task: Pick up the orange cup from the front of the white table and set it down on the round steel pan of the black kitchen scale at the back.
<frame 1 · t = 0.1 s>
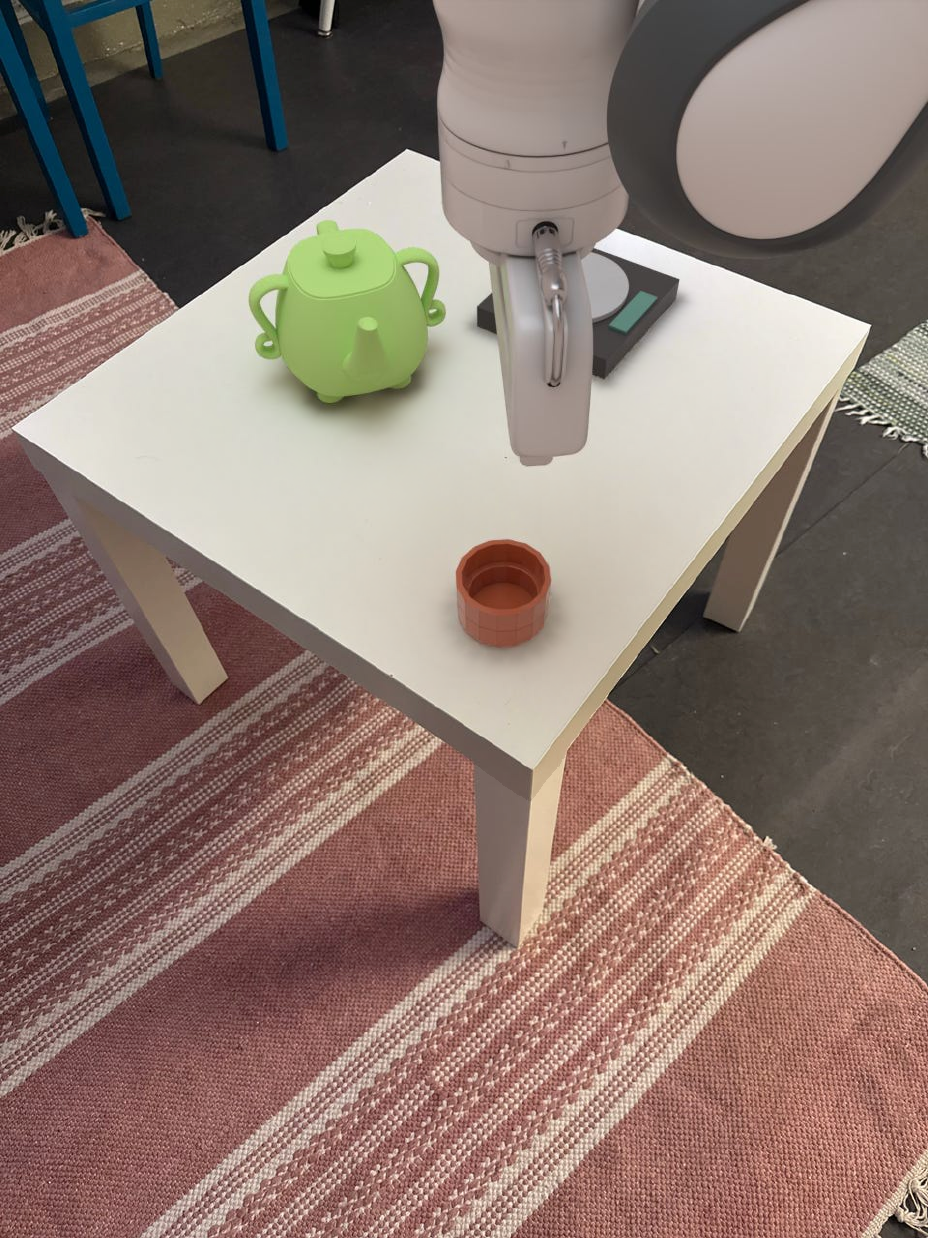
hand: (526, 398, 54), 19 cm above the table, tool pointing down, fingers open, 8 cm apart
scale: (577, 312, 89), on the table
teapot: (360, 374, 85), on the table
orange cup: (502, 613, 69), on the table
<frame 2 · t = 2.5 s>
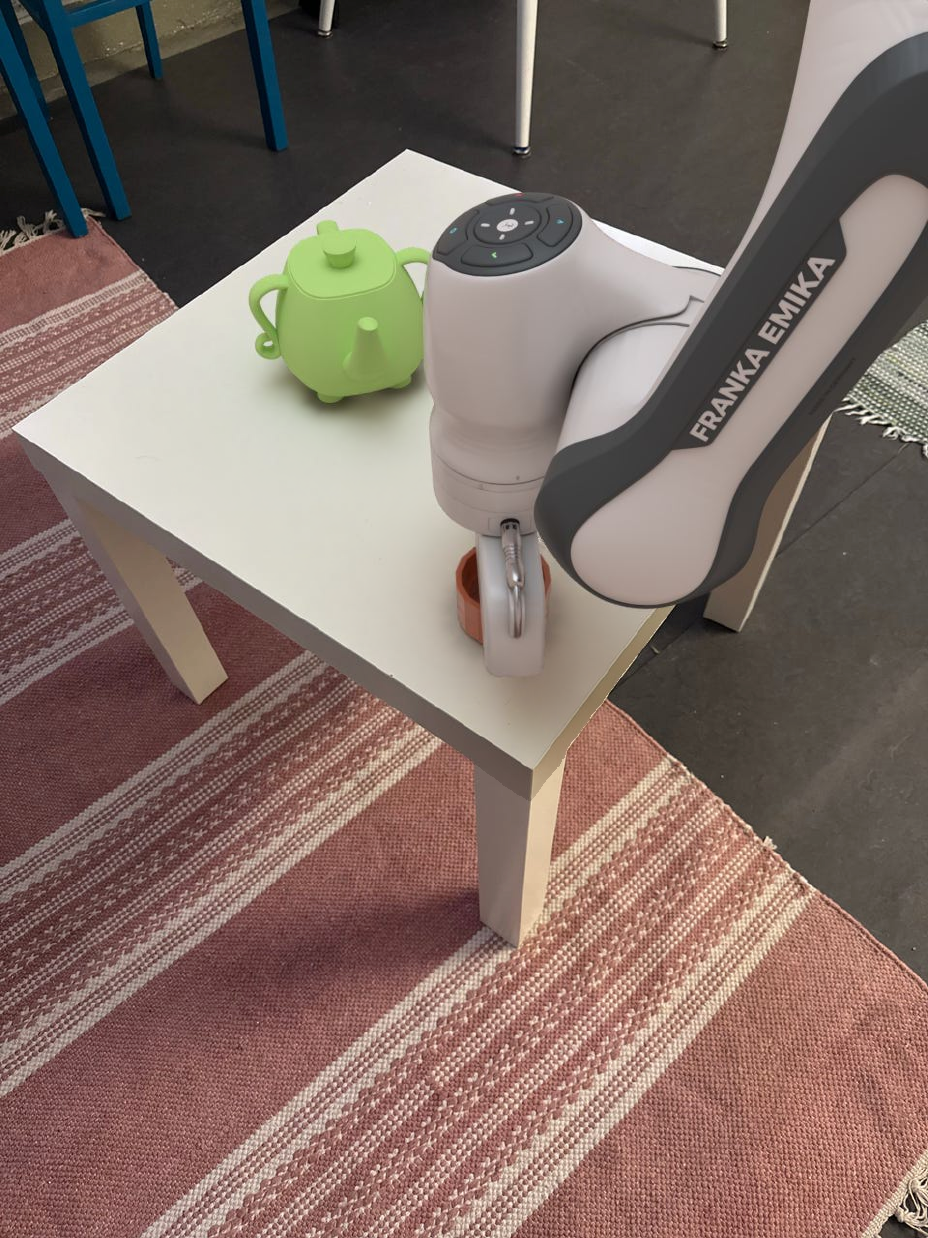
hand: (502, 598, 67), 2 cm above the table, tool pointing down, fingers closed on orange cup, 7 cm apart
orange cup: (502, 613, 69), on the table, touching gripper
everything else where it was.
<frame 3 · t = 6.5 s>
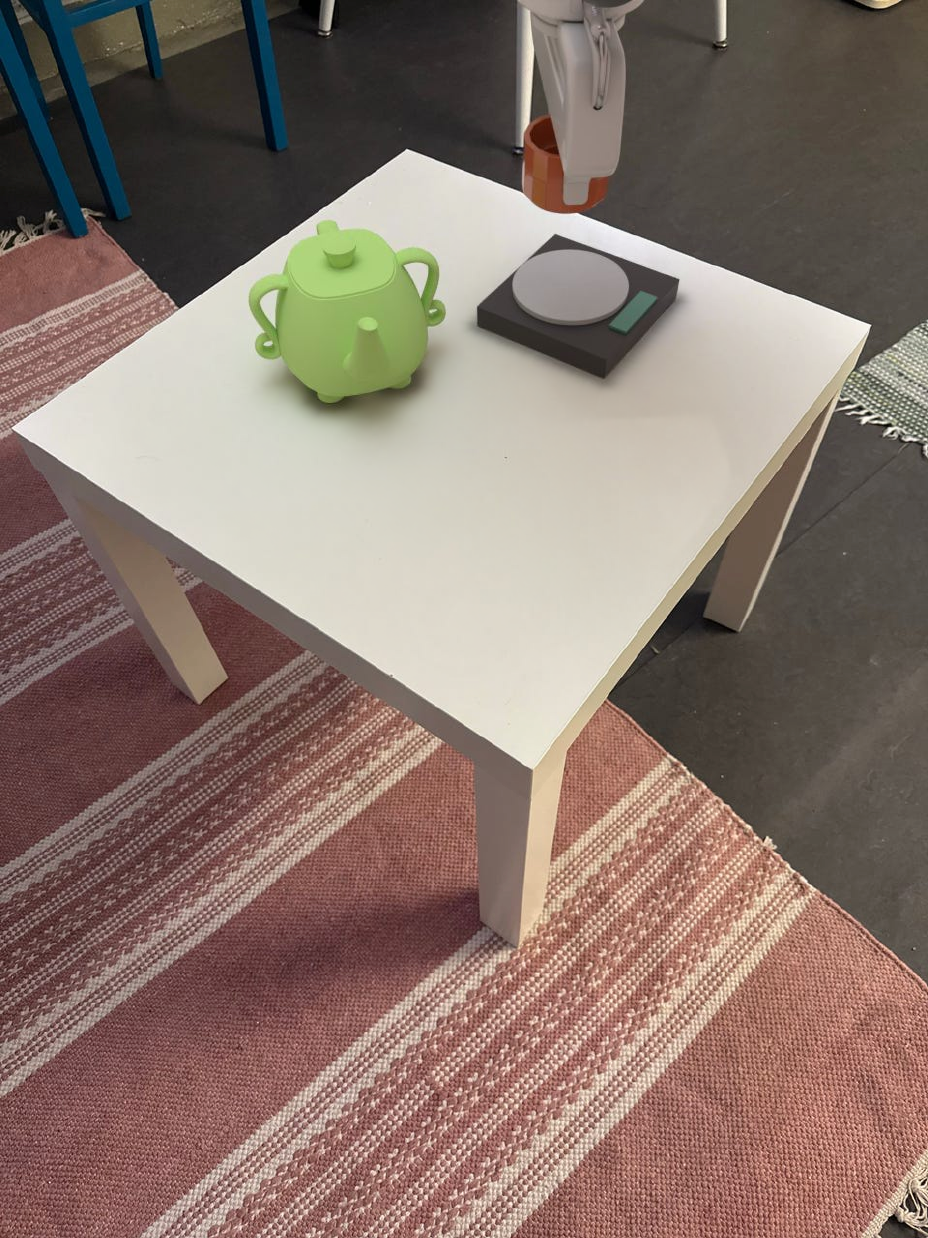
hand: (566, 169, 71), 18 cm above the table, tool pointing down, fingers closed on orange cup, 7 cm apart
orange cup: (564, 192, 72), point 16 cm above the table, touching gripper
everything else where it was.
when the fingers open (4 cm above the table, at t = 10.6 s): orange cup stays where it is, resting on scale.
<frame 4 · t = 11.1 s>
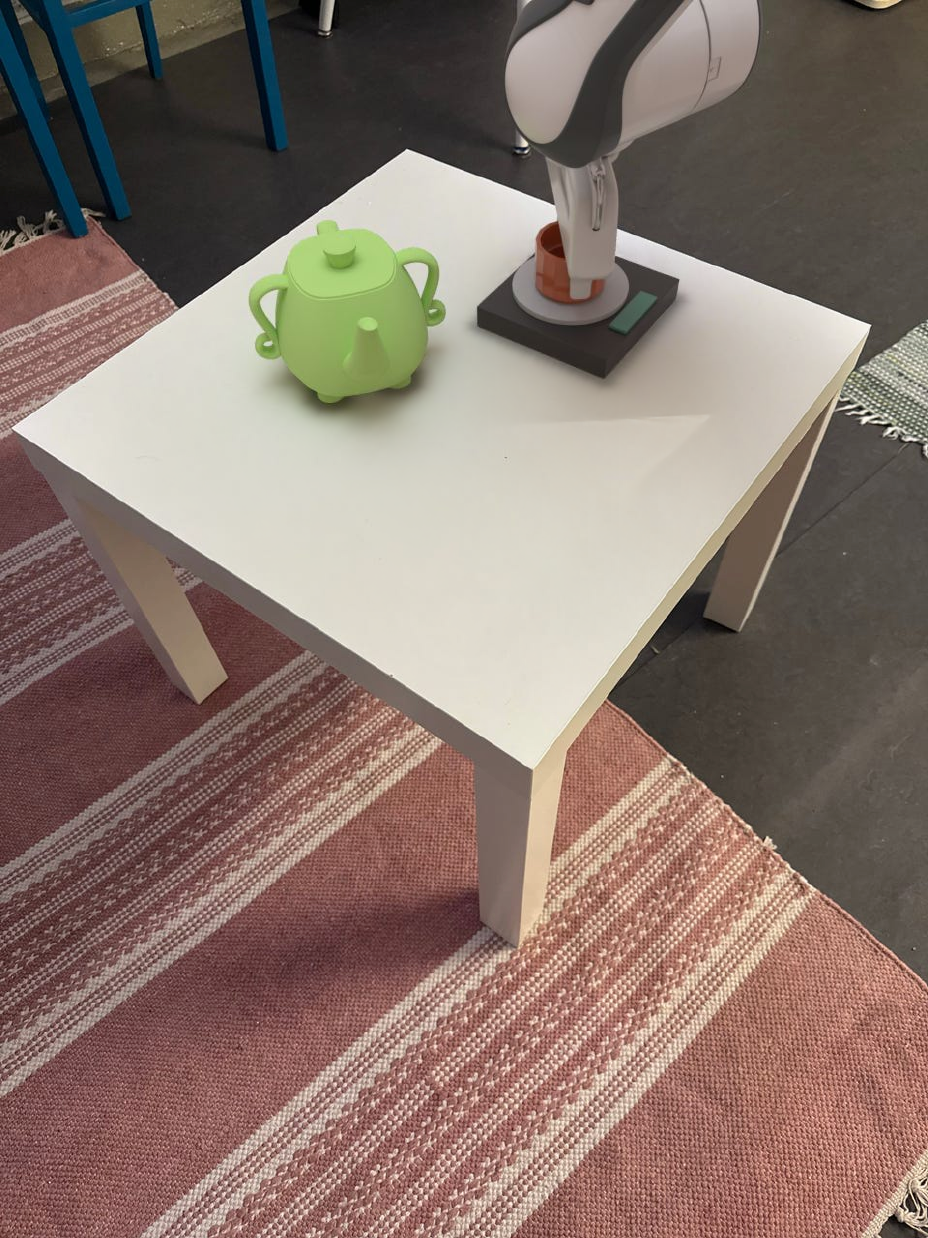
hand: (572, 262, 85), 5 cm above the table, tool pointing down, fingers open, 8 cm apart
orange cup: (569, 284, 87), point 3 cm above the table, touching scale
everything else where it was.
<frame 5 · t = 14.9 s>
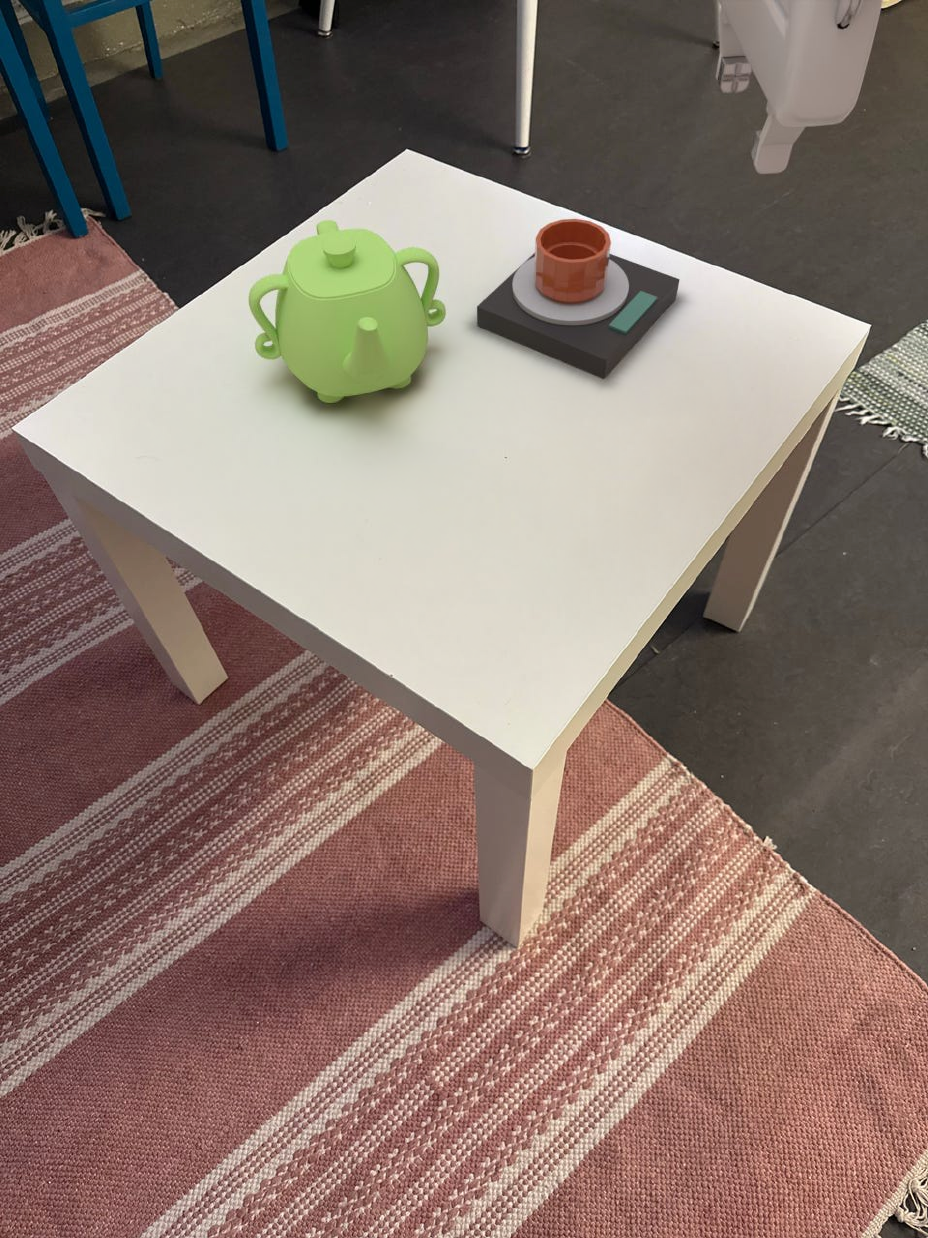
hand: (747, 125, 56), 27 cm above the table, tool pointing down, fingers open, 8 cm apart
nothing on the table moved.
at the end: orange cup 0.1 cm off-centre on the scale, point 2.8 cm above the scale's base; orange cup tilted 0°; the gripper is holding nothing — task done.
